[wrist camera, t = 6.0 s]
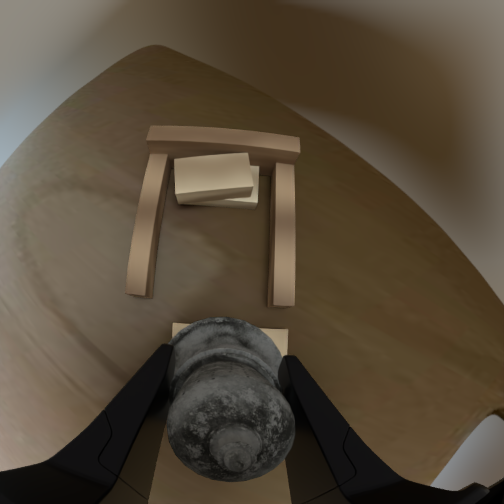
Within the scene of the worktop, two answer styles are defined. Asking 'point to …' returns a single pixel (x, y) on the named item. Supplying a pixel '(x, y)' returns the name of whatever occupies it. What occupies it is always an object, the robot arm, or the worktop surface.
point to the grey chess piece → (228, 401)
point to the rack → (214, 143)
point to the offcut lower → (238, 202)
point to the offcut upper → (212, 178)
